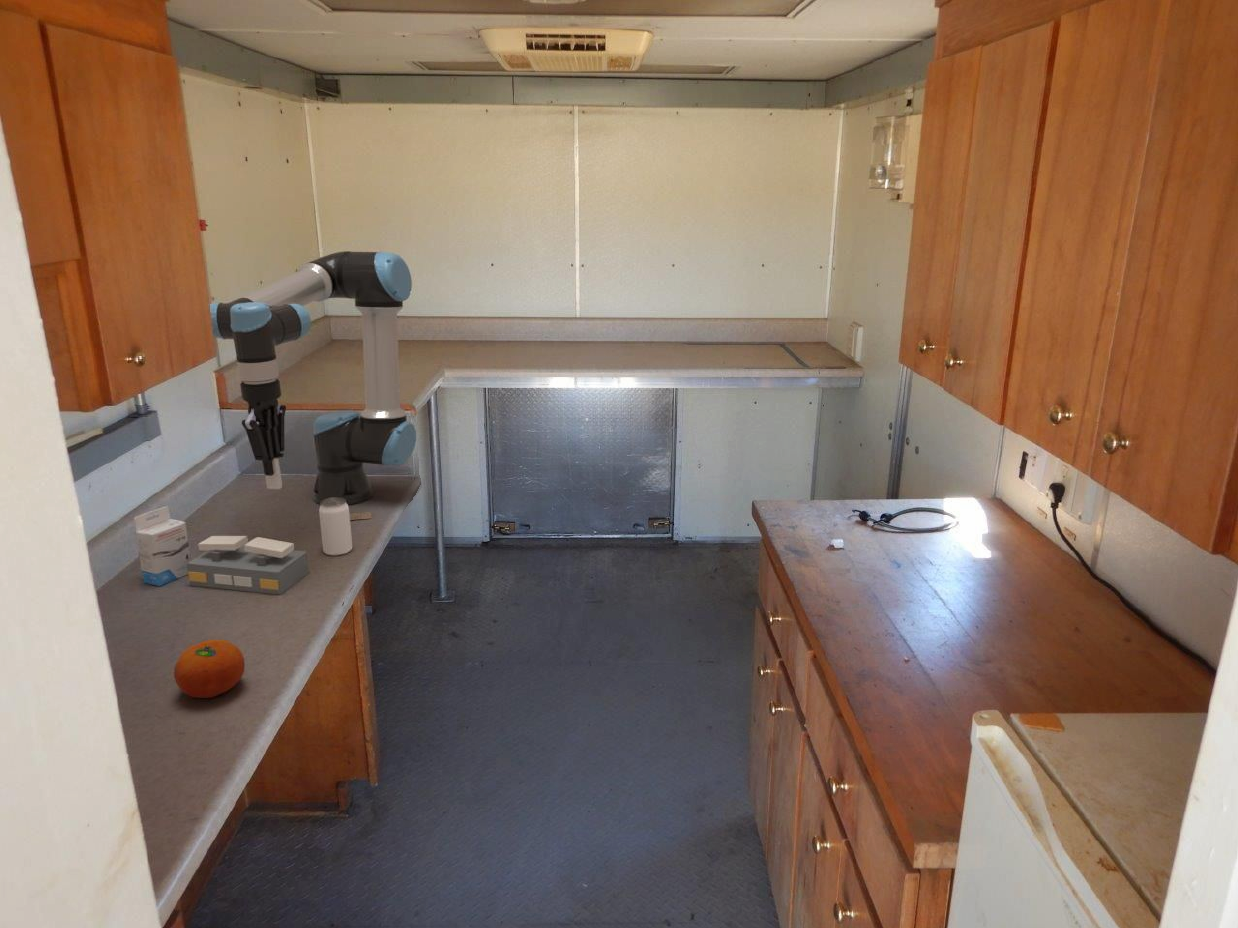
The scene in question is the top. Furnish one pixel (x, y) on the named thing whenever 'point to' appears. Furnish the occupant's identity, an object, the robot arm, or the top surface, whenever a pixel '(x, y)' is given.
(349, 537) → the can
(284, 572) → the switch unit
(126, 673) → the top surface
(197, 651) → the fruit
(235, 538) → the rocker
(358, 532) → the top surface
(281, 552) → the rocker
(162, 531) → the ink box
